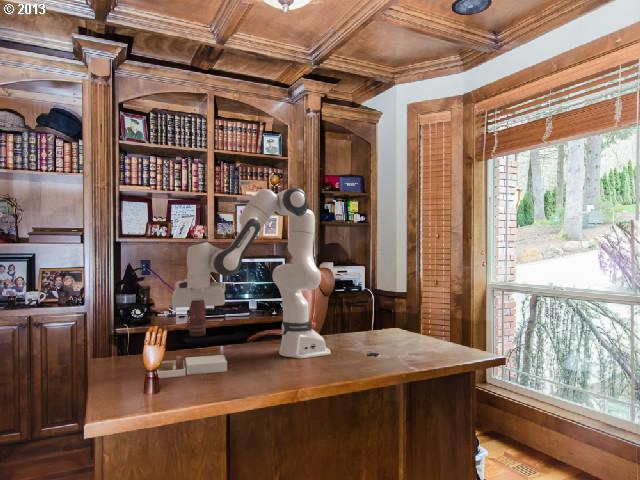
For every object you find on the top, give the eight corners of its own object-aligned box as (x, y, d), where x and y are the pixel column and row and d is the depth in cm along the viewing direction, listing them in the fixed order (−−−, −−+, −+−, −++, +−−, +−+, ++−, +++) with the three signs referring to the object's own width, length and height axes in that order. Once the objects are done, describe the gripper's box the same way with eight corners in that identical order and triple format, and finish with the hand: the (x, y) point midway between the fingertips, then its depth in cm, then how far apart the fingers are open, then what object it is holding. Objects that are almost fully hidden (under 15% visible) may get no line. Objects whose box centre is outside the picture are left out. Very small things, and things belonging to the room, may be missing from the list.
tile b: (158, 363, 165) (158, 370, 165) (158, 366, 161) (158, 373, 161) (172, 362, 167) (172, 369, 167) (173, 365, 163) (172, 372, 163)
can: (201, 337, 171) (201, 300, 171) (186, 336, 172) (186, 300, 172) (209, 333, 177) (208, 298, 176) (194, 332, 178) (194, 298, 178)
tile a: (182, 355, 168) (175, 355, 167) (183, 357, 164) (176, 358, 163) (182, 368, 168) (175, 369, 167) (183, 371, 164) (176, 371, 163)
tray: (183, 365, 173) (183, 359, 173) (185, 376, 160) (185, 369, 160) (156, 367, 169) (156, 361, 169) (155, 378, 156) (155, 371, 156)
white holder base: (223, 363, 176) (223, 354, 176) (226, 371, 166) (227, 361, 166) (185, 366, 172) (185, 357, 172) (186, 374, 161) (186, 365, 161)
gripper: (224, 281, 181) (224, 314, 181) (171, 282, 174) (171, 317, 174) (226, 282, 175) (226, 317, 175) (171, 284, 168) (171, 320, 168)
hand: (198, 317), depth 175 cm, fingers closed, pressing on can
